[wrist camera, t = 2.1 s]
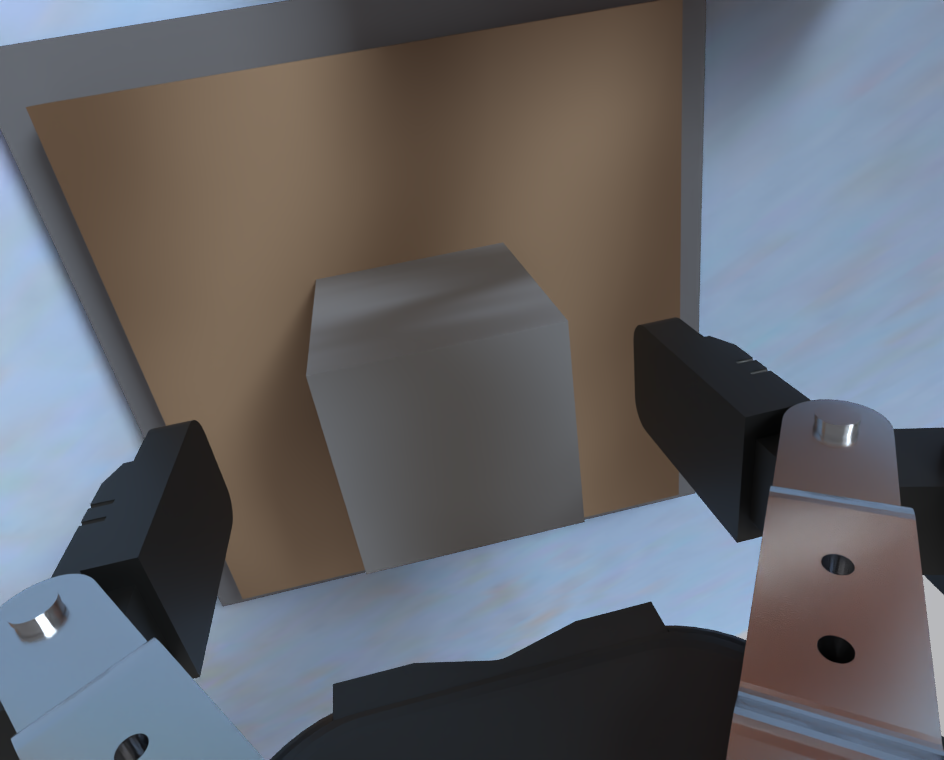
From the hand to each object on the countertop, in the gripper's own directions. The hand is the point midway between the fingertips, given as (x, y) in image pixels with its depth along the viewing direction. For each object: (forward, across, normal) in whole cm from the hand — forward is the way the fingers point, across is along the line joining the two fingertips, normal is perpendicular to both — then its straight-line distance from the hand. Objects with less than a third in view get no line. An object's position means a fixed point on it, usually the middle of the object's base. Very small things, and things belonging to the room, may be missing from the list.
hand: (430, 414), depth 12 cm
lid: (+4, 0, 0) cm, 4 cm away
